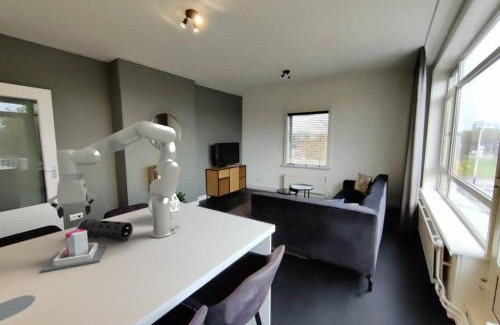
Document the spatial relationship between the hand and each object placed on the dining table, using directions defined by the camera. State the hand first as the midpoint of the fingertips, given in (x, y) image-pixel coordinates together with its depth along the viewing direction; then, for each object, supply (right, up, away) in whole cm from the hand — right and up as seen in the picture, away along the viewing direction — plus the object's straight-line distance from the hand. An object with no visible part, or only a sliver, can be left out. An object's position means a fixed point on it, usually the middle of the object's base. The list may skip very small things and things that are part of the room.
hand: (75, 215), depth 98 cm
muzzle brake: (-1, -18, +22) cm, 28 cm away
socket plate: (0, -20, +2) cm, 20 cm away
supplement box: (0, -19, +2) cm, 19 cm away
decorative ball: (+20, -15, +52) cm, 57 cm away
